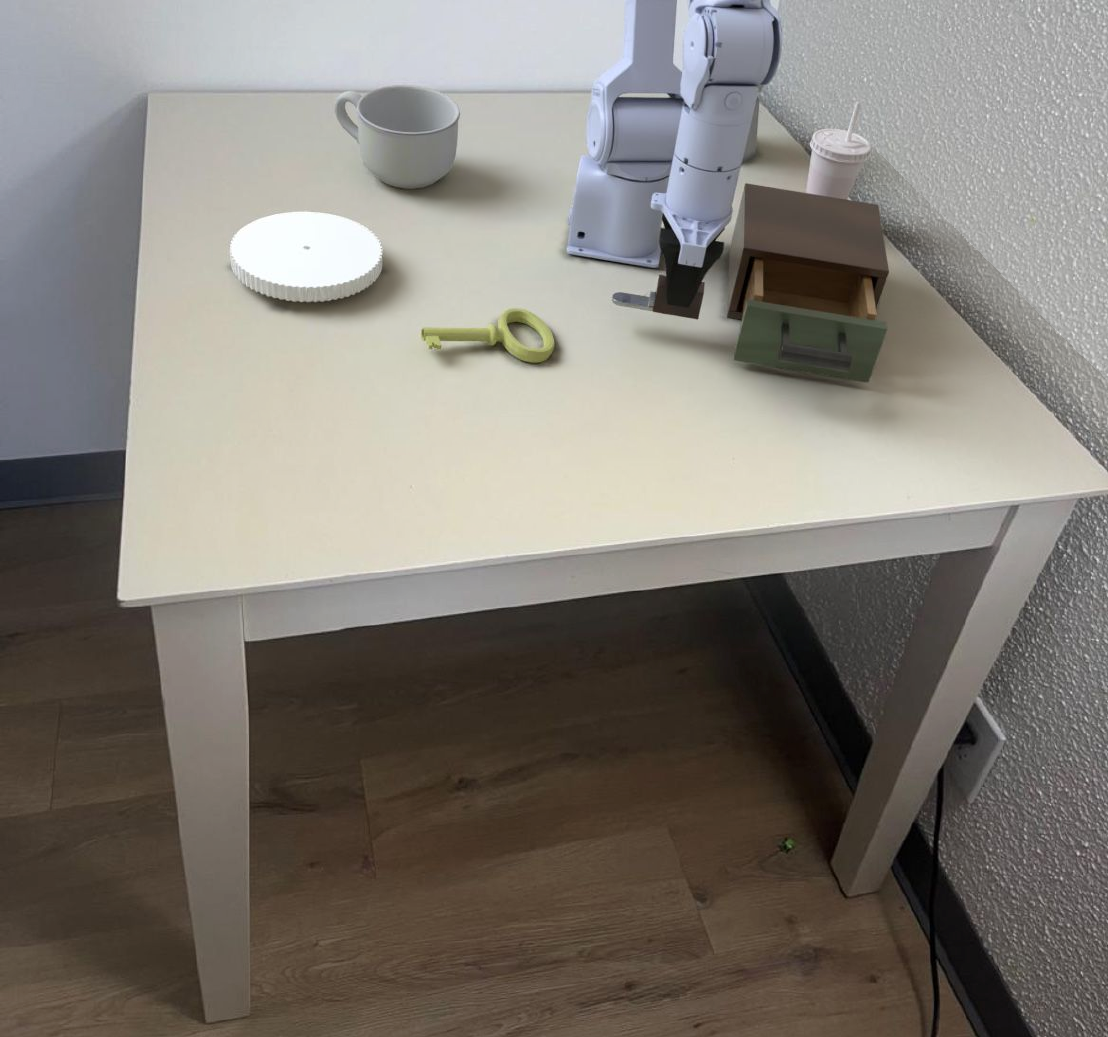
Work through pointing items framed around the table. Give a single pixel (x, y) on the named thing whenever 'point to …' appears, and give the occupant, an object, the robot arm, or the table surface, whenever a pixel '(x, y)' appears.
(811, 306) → the drawer
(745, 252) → the cabinet
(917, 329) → the table surface
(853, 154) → the smoothie
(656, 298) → the knife
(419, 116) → the teacup
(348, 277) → the white gear
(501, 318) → the key
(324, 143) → the table surface
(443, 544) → the table surface
